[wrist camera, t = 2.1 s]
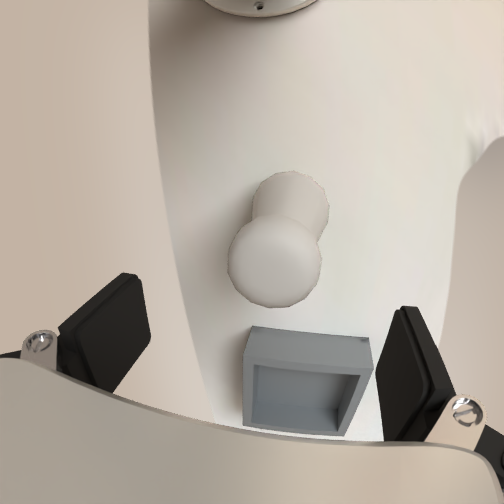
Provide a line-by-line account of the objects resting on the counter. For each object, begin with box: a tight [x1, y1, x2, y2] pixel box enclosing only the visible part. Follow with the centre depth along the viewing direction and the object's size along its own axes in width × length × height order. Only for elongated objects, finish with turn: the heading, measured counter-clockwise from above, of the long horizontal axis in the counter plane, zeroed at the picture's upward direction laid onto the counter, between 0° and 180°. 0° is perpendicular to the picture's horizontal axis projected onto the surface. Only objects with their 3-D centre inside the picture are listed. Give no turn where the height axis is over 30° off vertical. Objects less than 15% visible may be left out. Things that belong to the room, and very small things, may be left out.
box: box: [243, 326, 374, 436], centre depth 30 cm, size 12×12×4 cm
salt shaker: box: [228, 171, 329, 308], centre depth 19 cm, size 6×6×13 cm
